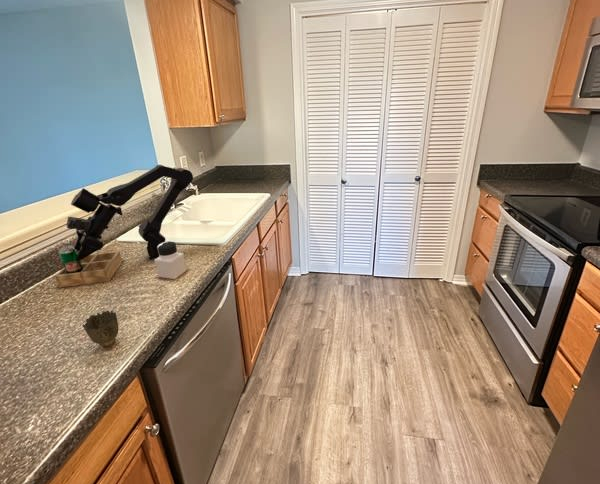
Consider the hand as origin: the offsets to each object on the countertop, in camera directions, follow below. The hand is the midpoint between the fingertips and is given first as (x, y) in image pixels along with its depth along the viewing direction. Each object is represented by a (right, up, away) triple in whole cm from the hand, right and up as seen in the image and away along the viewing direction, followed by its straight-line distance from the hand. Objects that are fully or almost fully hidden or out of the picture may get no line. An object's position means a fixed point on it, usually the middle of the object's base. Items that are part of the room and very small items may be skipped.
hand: (75, 256), depth 114 cm
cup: (+29, -22, -30) cm, 47 cm away
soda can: (-1, -8, +2) cm, 9 cm away
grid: (+2, -7, +7) cm, 10 cm away
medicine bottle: (+33, -7, +4) cm, 34 cm away
